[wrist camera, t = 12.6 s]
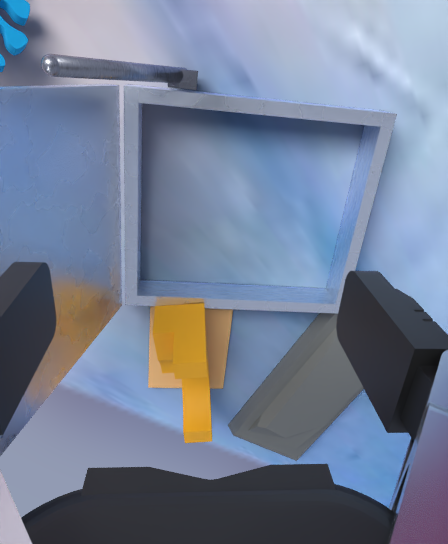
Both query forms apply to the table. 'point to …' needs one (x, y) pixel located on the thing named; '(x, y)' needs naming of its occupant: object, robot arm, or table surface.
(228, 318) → the tan rectangular plate
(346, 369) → the grey bevelled block
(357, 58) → the table surface
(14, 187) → the lid
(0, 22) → the gear
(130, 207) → the case
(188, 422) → the yellow curved stepped piece
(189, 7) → the table surface
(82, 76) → the rod
